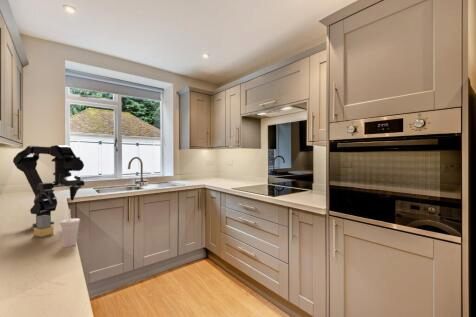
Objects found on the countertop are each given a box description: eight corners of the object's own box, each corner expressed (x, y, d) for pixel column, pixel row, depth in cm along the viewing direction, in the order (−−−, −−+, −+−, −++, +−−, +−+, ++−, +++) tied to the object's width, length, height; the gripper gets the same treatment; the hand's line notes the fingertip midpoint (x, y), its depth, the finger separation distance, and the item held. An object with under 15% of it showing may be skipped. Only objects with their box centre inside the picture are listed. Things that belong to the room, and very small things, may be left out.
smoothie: (77, 240, 94) (77, 206, 94) (82, 244, 90) (82, 209, 90) (57, 245, 89) (57, 209, 89) (62, 249, 85) (62, 212, 85)
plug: (36, 234, 100) (36, 216, 100) (44, 232, 103) (44, 214, 103) (42, 235, 98) (42, 217, 98) (50, 233, 101) (50, 215, 101)
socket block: (33, 236, 99) (33, 228, 99) (46, 232, 104) (46, 225, 104) (41, 237, 97) (41, 229, 97) (53, 234, 101) (53, 226, 101)
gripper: (50, 172, 102) (50, 207, 102) (91, 170, 119) (91, 200, 119) (36, 171, 106) (36, 205, 106) (77, 169, 124) (77, 198, 124)
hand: (62, 202), depth 114 cm, fingers open, 9 cm apart
